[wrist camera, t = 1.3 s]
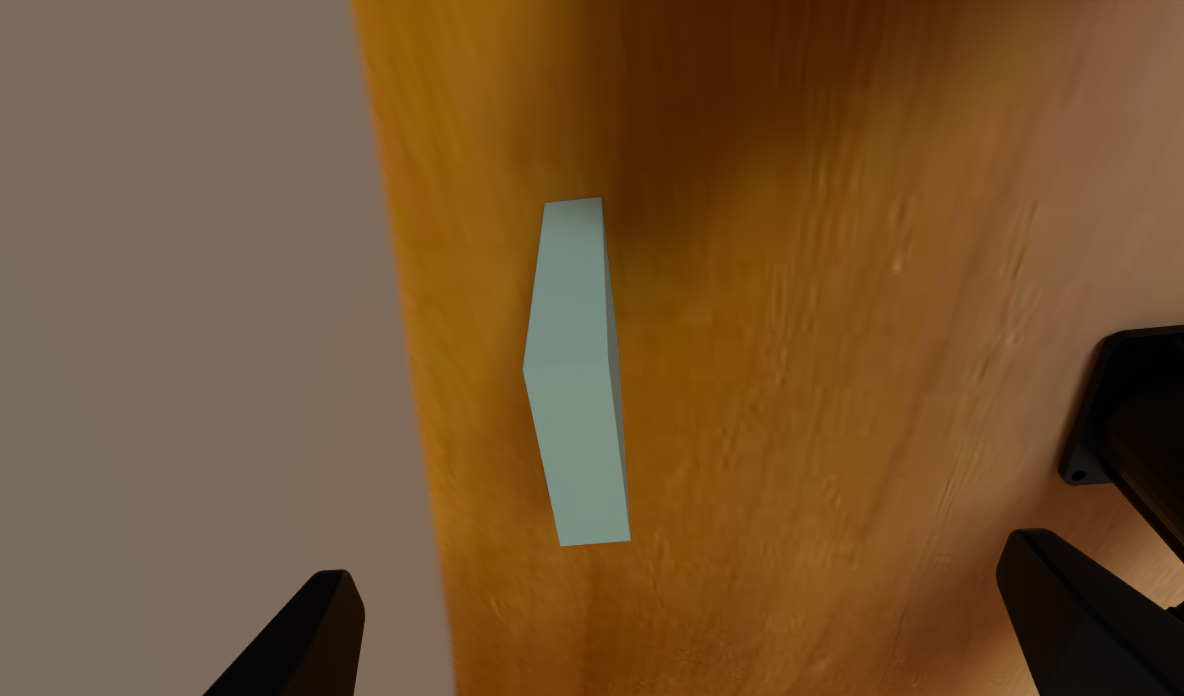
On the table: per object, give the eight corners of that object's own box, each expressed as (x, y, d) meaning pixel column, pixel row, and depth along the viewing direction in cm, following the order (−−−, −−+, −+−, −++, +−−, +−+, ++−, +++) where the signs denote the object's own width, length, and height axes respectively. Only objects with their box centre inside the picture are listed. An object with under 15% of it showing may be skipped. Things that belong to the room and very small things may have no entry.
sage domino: (601, 196, 19) (608, 361, 13) (617, 343, 22) (630, 540, 16) (544, 203, 19) (522, 369, 13) (568, 348, 22) (560, 546, 16)
